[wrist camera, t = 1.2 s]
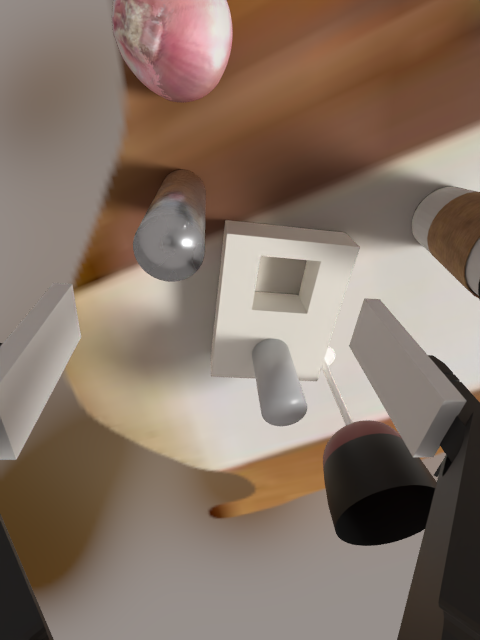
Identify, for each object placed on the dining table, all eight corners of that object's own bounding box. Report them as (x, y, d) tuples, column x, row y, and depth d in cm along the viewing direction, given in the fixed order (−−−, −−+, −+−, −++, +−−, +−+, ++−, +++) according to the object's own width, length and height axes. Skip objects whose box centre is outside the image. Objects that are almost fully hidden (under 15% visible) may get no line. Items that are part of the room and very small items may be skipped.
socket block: (225, 219, 33) (232, 273, 23) (345, 232, 35) (401, 287, 25) (211, 353, 42) (211, 435, 32) (308, 359, 43) (339, 438, 33)
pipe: (161, 166, 31) (132, 210, 19) (207, 172, 31) (207, 218, 19) (160, 213, 33) (134, 278, 21) (204, 217, 33) (201, 284, 21)
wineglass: (273, 357, 43) (314, 523, 27) (331, 315, 41) (418, 469, 24) (310, 390, 47) (367, 555, 30) (366, 354, 44) (463, 512, 27)
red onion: (112, 45, 27) (61, -19, 20) (189, -36, 25) (163, -136, 18) (181, 135, 28) (155, 104, 21) (258, 63, 27) (258, 4, 20)
